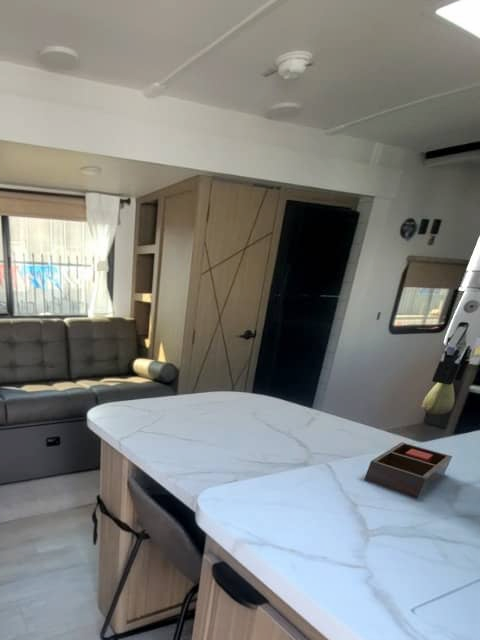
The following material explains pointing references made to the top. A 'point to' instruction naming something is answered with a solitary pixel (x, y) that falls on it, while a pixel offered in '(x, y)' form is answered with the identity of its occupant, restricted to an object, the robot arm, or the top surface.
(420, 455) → the red block
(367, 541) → the top surface
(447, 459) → the tray
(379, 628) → the top surface
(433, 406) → the fennel bulb
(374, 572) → the top surface
